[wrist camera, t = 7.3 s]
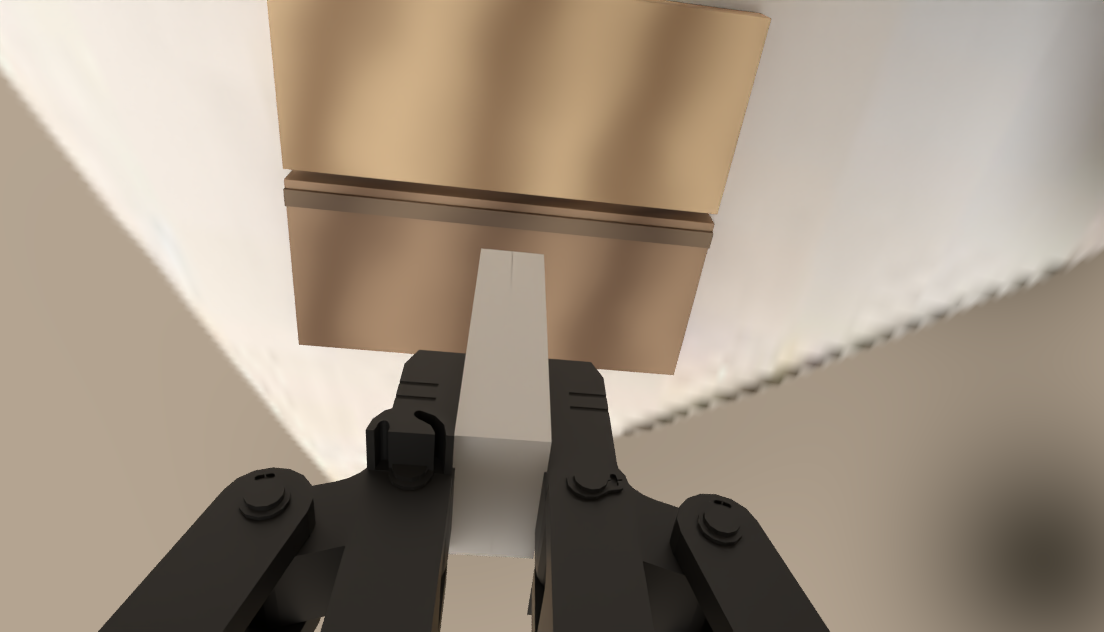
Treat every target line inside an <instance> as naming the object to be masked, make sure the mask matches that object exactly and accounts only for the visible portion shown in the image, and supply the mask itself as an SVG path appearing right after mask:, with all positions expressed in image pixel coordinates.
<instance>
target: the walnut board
mask: <svg viewBox="0 0 1104 632" xmlns="http://www.w3.org/2000/svg"><path fill="white" fill-rule="evenodd" d="M284 185H285V188H284V189H283V190H284V201H285V206H286V207H287V218H288V229H289V240H290V251H291V262H292V273H293V284H294V295H295V306H296V317H297V329H298V340H299V345H311V346H323V347H335V348H347V349H360V350H372V351H384V352H397V353H409V354H415V353H416V352H417V351H418V350H430V351H442V352H454V353H466V350H467V343H468V337H469V330H470V323H471V316H472V309H473V302H474V295H475V288H476V281H477V275H478V268H479V261H480V254H481V248H482V249H493V250H503V251H513V252H524V253H534V254H544V268H545V293H546V317H547V342H548V359H561V360H573V361H585V362H591V363H592V364H593V365H594V366H595V368H596V369H606V370H618V371H630V372H642V373H655V374H667V375H674V372H675V368H676V364H677V361H678V357H679V353H680V350H681V346H682V342H683V338H684V335H685V331H686V327H687V324H688V320H689V316H690V313H691V309H692V305H693V302H694V298H695V294H696V291H697V287H698V283H699V279H700V276H701V272H702V268H703V265H704V261H705V257H706V254H707V250H708V248H710V244H711V241H712V237H713V232H712V231H713V228H714V222H713V221H712V219H711V217H710V216H709V214H708V213H700V212H691V211H681V210H672V209H662V208H653V207H643V206H634V205H624V204H615V203H605V202H595V201H586V200H576V199H567V198H557V197H548V196H538V195H529V194H519V193H510V192H500V191H491V190H481V189H472V188H462V187H453V186H443V185H434V184H424V183H415V182H405V181H396V180H386V179H377V178H367V177H357V176H348V175H338V174H329V173H319V172H310V171H300V170H292V171H291V172H290V173H289V174H288V176H287V177H286V178H285V179H284Z"/></svg>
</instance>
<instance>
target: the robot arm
mask: <svg viewBox="0 0 1104 632" xmlns="http://www.w3.org/2000/svg"><path fill="white" fill-rule="evenodd" d="M366 451H367V468H366V469H365V470H363V471H362V472H361V473H358V474H356V475H354V476H352V477H350V478H347V479H343V480H340V481H336V482H331V483H325V484H320V485H315V486H312V485H311V484H310V483H309V481H308V480H307V479H306V478H305V477H304V475H301V474H299V473H297V472H295V471H293V470H291V469H283V468H268V469H262V470H256V471H253V472H251V473H248V474H246V475H244V476H241V477H239V478H237V479H236V480H235V481H234V482H232V483H231V484H230V485H229V486H227V487H226V488H225V489H224V490H223V491H222V492H221V493H220V494H219V496H218V497H217V498H216V499H215V500H214V501H213V502H212V503H211V505H210V506H209V507H208V508H207V509H206V510H205V511H204V513H203V514H202V515H201V516H200V517H199V518H198V519H197V520H196V522H195V523H194V524H193V525H192V526H191V527H190V528H189V530H188V531H187V532H186V533H185V534H184V535H183V536H182V537H181V538H180V540H179V541H178V542H177V543H176V544H175V545H174V546H173V547H172V549H171V550H170V551H169V552H168V553H167V554H166V555H165V557H164V558H163V559H162V560H161V561H160V562H159V563H158V564H157V566H156V567H155V568H154V569H153V570H152V571H151V572H150V574H149V575H148V576H147V577H146V578H145V579H144V580H143V581H142V583H141V584H140V585H139V586H138V587H137V588H136V589H135V591H134V592H133V593H132V594H131V595H130V596H129V597H128V599H126V601H125V602H124V603H123V604H122V605H121V606H120V607H119V609H118V610H117V611H116V612H115V613H114V614H113V615H112V616H111V618H110V619H109V620H108V621H107V622H106V623H105V624H104V626H103V627H102V628H101V629H100V630H99V631H98V632H314V630H315V629H316V627H317V625H318V623H319V621H320V618H321V617H323V616H325V618H324V622H323V625H322V628H321V632H440V628H441V620H442V612H443V604H444V595H445V587H446V575H447V560H448V554H462V555H478V556H496V557H514V558H532V559H533V556H534V550H535V569H534V576H533V582H532V588H531V594H530V600H529V607H528V613H527V614H528V615H532V632H830V631H829V629H828V628H827V626H826V625H825V623H824V622H823V621H822V619H821V617H820V616H819V614H818V613H817V611H816V610H815V608H814V607H813V605H812V604H811V602H810V600H809V599H808V597H807V596H806V594H805V593H804V591H803V590H802V588H801V587H800V586H799V584H798V582H797V581H796V579H795V578H794V576H793V575H792V573H791V572H790V570H789V569H788V567H787V565H786V564H785V563H784V561H783V559H782V558H781V556H780V555H779V553H778V552H777V551H776V549H775V547H774V546H773V544H772V543H771V541H770V540H769V538H768V537H767V535H766V534H765V532H764V531H763V529H762V528H761V526H760V525H759V523H758V522H757V520H756V519H755V518H754V517H753V516H752V515H751V514H750V512H749V511H748V510H747V509H746V508H744V507H743V506H741V505H740V504H738V503H736V502H735V501H733V500H732V499H729V498H726V497H722V496H719V495H716V494H699V495H696V496H693V497H690V498H688V499H686V500H685V501H684V502H683V503H682V504H681V506H680V507H679V508H678V507H675V506H672V505H669V504H666V503H663V502H660V501H656V500H654V499H652V498H649V497H647V496H645V495H643V494H641V493H639V492H638V491H636V490H635V489H634V488H632V487H631V486H630V485H629V483H628V481H627V479H626V476H625V475H624V474H623V473H622V472H621V471H620V470H619V469H618V466H617V462H616V455H615V449H614V443H613V436H612V430H611V423H610V417H609V413H608V404H607V398H606V392H605V385H604V379H603V377H602V376H601V374H600V373H599V372H598V370H597V369H596V368H595V366H594V365H593V364H592V363H591V362H585V361H573V360H561V359H548V342H547V317H546V293H545V268H544V254H534V253H524V252H513V251H503V250H493V249H482V248H481V254H480V261H479V268H478V275H477V281H476V288H475V295H474V302H473V309H472V316H471V323H470V330H469V337H468V343H467V350H466V353H454V352H442V351H430V350H418V351H417V352H416V353H415V354H414V355H413V356H412V357H411V358H410V359H409V360H408V361H407V362H406V363H405V364H404V368H403V372H402V375H401V379H400V384H399V386H398V390H397V393H396V398H395V400H394V404H393V408H392V409H388V410H385V411H383V412H382V413H381V414H379V415H378V416H376V417H375V418H373V419H372V421H371V422H370V424H369V425H368V427H367V429H366Z"/></svg>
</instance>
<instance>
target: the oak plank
mask: <svg viewBox="0 0 1104 632" xmlns="http://www.w3.org/2000/svg"><path fill="white" fill-rule="evenodd" d="M267 6H268V16H269V27H270V37H271V48H272V58H273V69H274V79H275V90H276V100H277V111H278V121H279V132H280V142H281V153H282V163H283V169H291V170H300V171H310V172H319V173H329V174H338V175H348V176H357V177H367V178H377V179H386V180H396V181H405V182H415V183H424V184H434V185H443V186H453V187H462V188H472V189H481V190H491V191H500V192H510V193H519V194H529V195H538V196H548V197H557V198H567V199H576V200H586V201H595V202H605V203H615V204H624V205H634V206H643V207H653V208H662V209H672V210H681V211H691V212H700V213H710V214H717V213H718V210H719V206H720V202H721V199H722V195H723V191H724V188H725V184H726V181H727V177H728V173H729V170H730V166H731V162H732V159H733V155H734V152H735V148H736V144H737V141H738V137H739V134H740V130H741V126H742V123H743V119H744V115H745V112H746V108H747V105H748V101H749V97H750V94H751V90H752V86H753V83H754V79H755V76H756V72H757V68H758V65H759V61H760V58H761V54H762V50H763V47H764V43H765V39H766V36H767V32H768V29H769V25H770V21H771V18H769V17H767V16H765V15H763V14H761V13H754V12H747V11H739V10H732V9H725V8H717V7H710V6H702V5H695V4H687V3H680V2H673V1H665V0H267Z"/></svg>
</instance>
